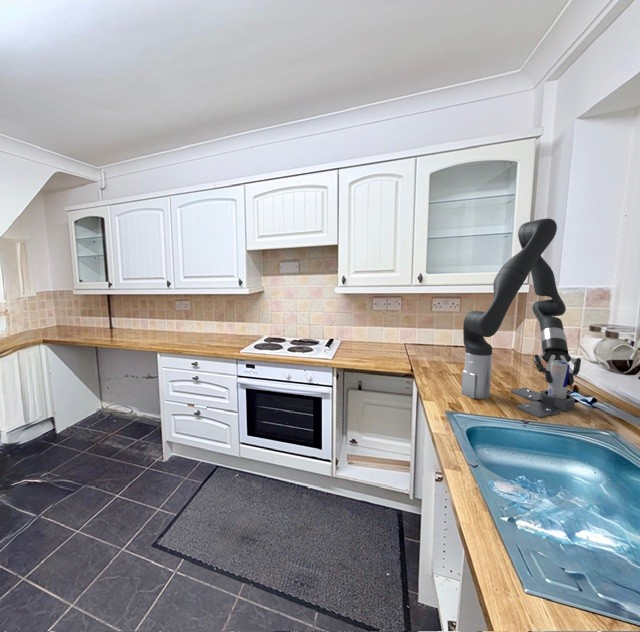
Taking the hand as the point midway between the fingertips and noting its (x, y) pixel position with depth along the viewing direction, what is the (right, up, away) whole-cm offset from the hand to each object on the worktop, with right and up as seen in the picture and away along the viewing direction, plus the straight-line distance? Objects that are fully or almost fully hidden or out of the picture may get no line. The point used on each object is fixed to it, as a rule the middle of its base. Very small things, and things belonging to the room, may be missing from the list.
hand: (560, 383), depth 102 cm
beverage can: (+1, -8, +3) cm, 8 cm away
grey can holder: (-5, -8, +6) cm, 12 cm away
